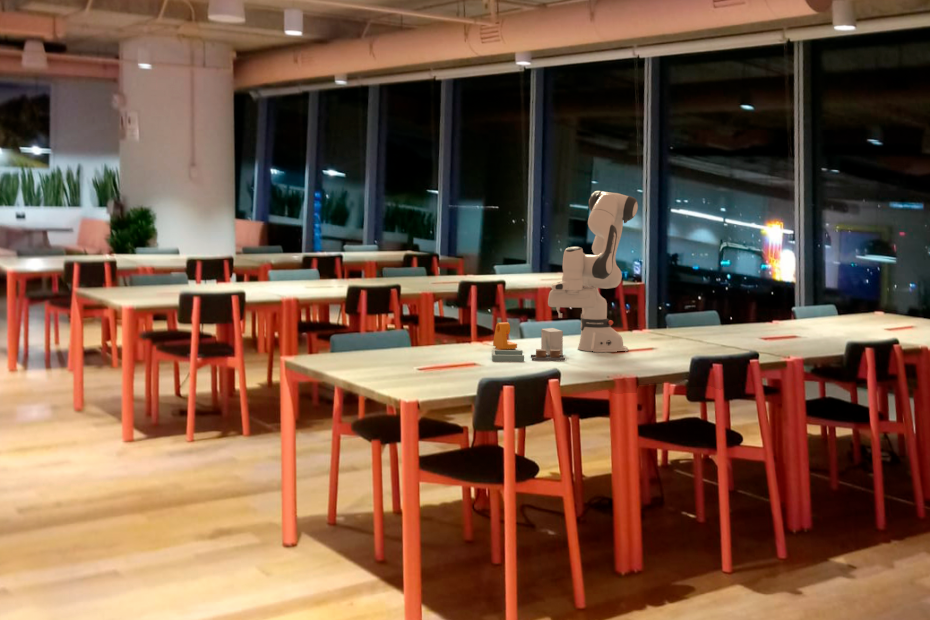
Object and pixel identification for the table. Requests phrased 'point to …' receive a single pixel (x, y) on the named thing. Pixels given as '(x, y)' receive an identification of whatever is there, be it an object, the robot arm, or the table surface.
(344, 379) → the table surface
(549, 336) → the skincare box
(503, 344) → the bracket
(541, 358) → the slot rails
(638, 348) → the table surface
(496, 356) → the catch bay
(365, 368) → the table surface
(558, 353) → the chip
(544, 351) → the chip
